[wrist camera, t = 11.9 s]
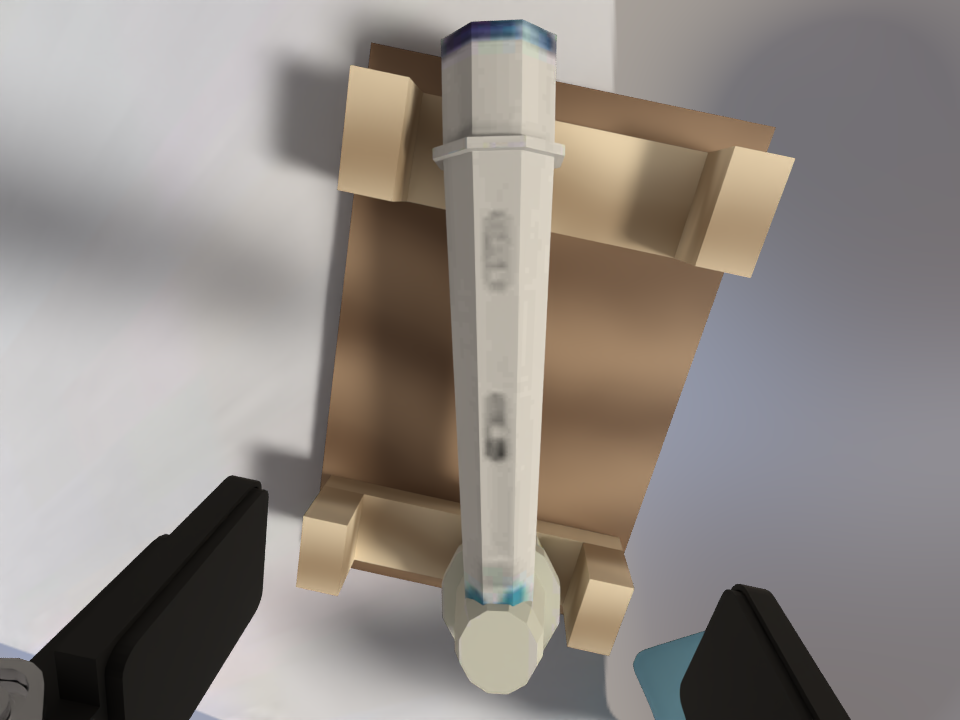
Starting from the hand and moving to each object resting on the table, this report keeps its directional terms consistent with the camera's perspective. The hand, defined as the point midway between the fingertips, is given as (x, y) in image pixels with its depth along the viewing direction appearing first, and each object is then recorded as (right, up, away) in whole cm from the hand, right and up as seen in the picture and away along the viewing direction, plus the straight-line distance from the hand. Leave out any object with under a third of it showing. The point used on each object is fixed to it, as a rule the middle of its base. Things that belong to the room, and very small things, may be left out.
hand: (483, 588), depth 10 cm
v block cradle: (+1, +4, +14) cm, 15 cm away
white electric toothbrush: (+1, +4, +12) cm, 13 cm away
